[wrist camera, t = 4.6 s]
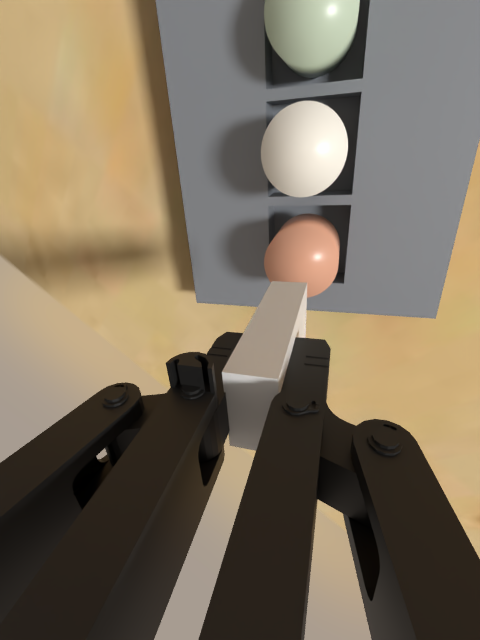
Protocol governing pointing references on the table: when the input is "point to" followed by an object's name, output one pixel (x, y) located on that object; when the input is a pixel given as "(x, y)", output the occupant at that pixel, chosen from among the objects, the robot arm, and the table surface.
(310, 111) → the white egg
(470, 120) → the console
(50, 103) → the table surface
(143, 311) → the table surface
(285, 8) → the sage button
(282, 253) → the terracotta button
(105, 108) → the table surface
